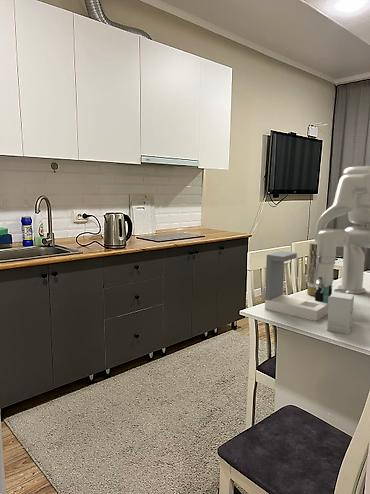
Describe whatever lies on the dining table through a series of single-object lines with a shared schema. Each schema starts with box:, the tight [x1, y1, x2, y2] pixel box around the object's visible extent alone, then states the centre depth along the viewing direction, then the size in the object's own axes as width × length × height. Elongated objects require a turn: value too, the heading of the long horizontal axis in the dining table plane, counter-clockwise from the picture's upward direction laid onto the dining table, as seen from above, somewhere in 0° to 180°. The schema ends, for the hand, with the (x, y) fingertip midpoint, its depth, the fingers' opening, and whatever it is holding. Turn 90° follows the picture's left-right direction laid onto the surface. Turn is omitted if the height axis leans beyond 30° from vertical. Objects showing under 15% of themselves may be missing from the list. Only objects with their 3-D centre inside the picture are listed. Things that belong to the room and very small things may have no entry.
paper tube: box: [306, 240, 317, 297], centre depth 176 cm, size 7×7×25 cm
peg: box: [322, 285, 329, 304], centre depth 160 cm, size 4×4×10 cm
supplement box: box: [326, 291, 355, 335], centre depth 132 cm, size 7×7×13 cm
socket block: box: [264, 250, 329, 322], centre depth 151 cm, size 12×22×23 cm, turn 49°
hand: (323, 298), depth 160 cm, fingers open, 9 cm apart
